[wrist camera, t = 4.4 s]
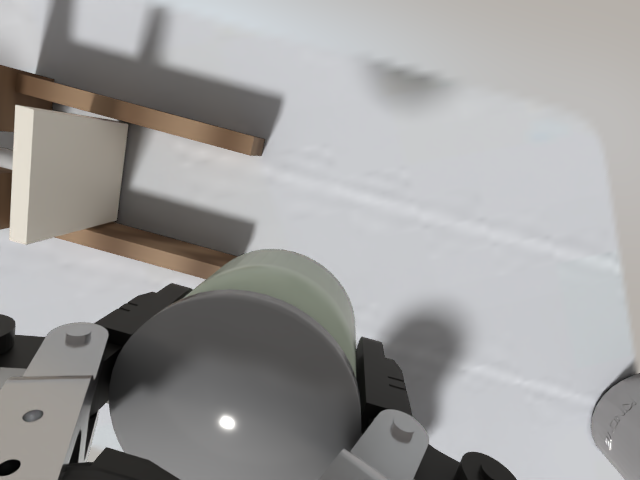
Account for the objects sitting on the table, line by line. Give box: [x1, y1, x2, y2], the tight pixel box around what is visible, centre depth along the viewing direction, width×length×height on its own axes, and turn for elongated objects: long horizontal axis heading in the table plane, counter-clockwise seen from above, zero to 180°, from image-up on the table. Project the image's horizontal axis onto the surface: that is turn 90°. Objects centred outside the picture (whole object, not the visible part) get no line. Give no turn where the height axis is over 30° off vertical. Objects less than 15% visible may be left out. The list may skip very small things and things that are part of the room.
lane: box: [0, 65, 265, 279], centre depth 24 cm, size 18×11×6 cm, turn 75°
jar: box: [109, 249, 361, 480], centre depth 11 cm, size 6×6×5 cm
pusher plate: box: [0, 105, 128, 245], centre depth 23 cm, size 7×7×8 cm
